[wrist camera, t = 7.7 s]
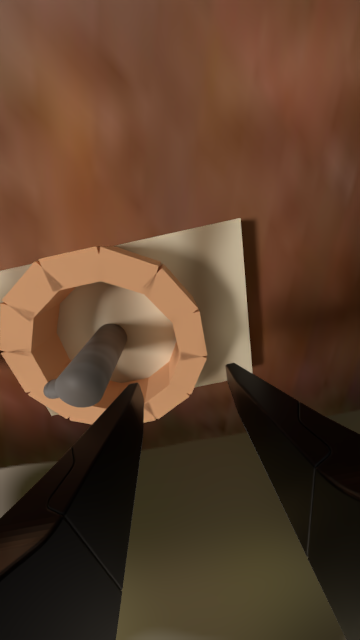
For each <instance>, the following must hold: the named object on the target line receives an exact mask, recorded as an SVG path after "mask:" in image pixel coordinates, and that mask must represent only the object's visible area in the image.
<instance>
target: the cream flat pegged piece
mask: <svg viewBox="0 0 360 640" xmlns="http://www.w3.org/2000/svg"><path fill="white" fill-rule="evenodd" d="M116 247H119V248H122V249H124V250H127V251H130V252H133V253H136V254H139V255H142V256H145V257H148V258H151V259H154V260H157V261H160V262H161V263H160V266H161V265H163V264H164V265H165V266H166V267H167V268H168V269H169V270H170V271H171V273H172V274H173V275H174V276H175V277H176V278H177V279H178V280H179V282H180V283H181V284H182V285H183V286H184V287H185V288H186V289H187V291H188V292H189V293H190V294H191V295H192V296H193V298H194V300H195V302H196V305H197V307H198V309H199V311H200V316H201V322H202V328H203V333H204V339H205V345H206V350H207V356H206V357H207V359H206V362H205V364H204V366H203V369H202V371H201V373H200V375H199V378H198V380H197V382H196V384H195V387H198V386H203V385H208V384H213V383H218V382H223V381H227V375H226V367H225V366H226V364H230V363H236V364H237V365H239V366H241V367H242V368H244V369H246V370H247V371H249V372H251V373H252V361H251V348H250V335H249V322H248V309H247V296H246V283H245V270H244V257H243V244H242V231H241V218H238V219H234V220H229V221H225V222H220V223H216V224H211V225H207V226H202V227H197V228H193V229H188V230H184V231H179V232H175V233H170V234H166V235H161V236H157V237H152V238H148V239H143V240H139V241H134V242H129V243H125V244H120V245H116ZM31 265H32V264H30V265H25V266H21V267H16V268H12V269H7V270H3V271H0V303H3V301H2V299H3V298H4V297H5V296H6V294H7V293H8V292H9V291H10V290H11V289H12V287H13V286H14V285H15V284H16V283H17V282H18V280H19V279H20V278H21V277H22V276H23V274H24V273H25V272H26V271H27V270H28V269H29V267H30V266H31ZM160 266H159V267H160ZM57 334H58V336H59V339H60V341H61V343H62V345H63V347H64V349H65V351H66V353H67V355H68V357H69V359H70V360H72V361H71V362H70V363H69V365H68V366H67V367H66V368H65V369H64V371H63V372H62V373H61V374H60V375H59V376H58V378H57V379H54V380H51V381H49V382H48V383H47V384H46V385H45V386H44V390H43V392H44V395H45V396H46V397H47V398H49V399H56V398H60V399H61V400H62V401H64V402H65V403H67V404H69V405H71V406H74V407H81V408H84V407H90V406H93V405H95V404H97V403H98V402H99V401H100V400H101V399H102V397H103V394H104V392H105V390H106V388H107V385H108V383H109V381H114V382H119V383H125V382H130V381H135V380H140V379H145V378H149V377H150V376H151V375H153V374H154V373H155V372H156V371H158V370H159V369H160V368H161V367H163V366H164V365H165V364H166V363H168V362H169V361H170V358H171V355H172V352H173V350H174V347H175V344H176V336H175V332H174V328H173V324H172V322H171V321H170V320H169V319H168V318H167V317H166V316H165V315H164V314H163V313H162V312H161V311H160V310H159V309H158V308H157V307H156V306H155V305H154V304H153V303H152V302H151V301H150V300H149V299H148V298H147V297H146V296H145V295H144V294H141V293H138V292H135V291H132V290H128V289H125V288H122V287H119V286H115V285H112V284H109V283H105V282H102V281H100V282H95V283H91V284H86V285H81V286H77V287H76V288H75V289H74V290H73V291H72V292H71V293H70V294H69V295H68V296H67V297H66V298H65V299H64V300H63V301H62V302H61V303H60V309H59V317H58V325H57ZM46 407H47V406H46ZM47 409H48V410H49V412H50V414H51V415H52V416H53V415H58V413H56V412H55V411H53V410H51V409H50V408H48V407H47Z"/></svg>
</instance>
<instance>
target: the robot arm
mask: <svg viewBox="0 0 360 640" xmlns="http://www.w3.org/2000/svg"><path fill="white" fill-rule="evenodd" d="M225 367H226V375H227V381H228V384H229V387H230V390H231V393H232V396H233V399H234V402H235V405H236V408H237V411H238V413H239V416H240V418H241V420H242V422H243V424H244V426H245V428H246V431H247V433H248V434H249V436H250V439H251V441H252V443H253V445H254V447H255V449H256V451H257V454H258V456H259V457H260V460H261V462H262V464H263V466H264V468H265V470H266V472H267V474H268V476H269V479H270V481H271V483H272V485H273V487H274V488H275V491H276V493H277V495H278V497H279V499H280V501H281V503H282V506H283V508H284V510H285V512H286V514H287V516H288V518H289V520H290V522H291V524H292V527H293V529H294V531H295V533H296V535H297V537H298V539H299V541H300V543H301V545H302V547H303V549H304V551H305V554H306V556H307V557H308V560H309V562H310V564H311V566H312V569H313V571H314V573H315V575H316V577H317V579H318V581H319V583H320V585H321V587H322V589H323V592H324V593H325V595H326V598H327V600H328V602H329V604H330V606H331V608H332V610H333V612H334V614H335V616H336V618H337V621H338V623H339V625H340V627H341V629H342V631H343V633H344V635H345V637H346V639H347V640H360V434H358V433H356V432H354V431H352V430H350V429H348V428H346V427H344V426H342V425H340V424H338V423H336V422H335V421H333V420H331V419H329V418H327V417H325V416H323V415H322V414H320V413H318V412H316V411H315V410H313V409H311V408H309V407H308V406H306V405H304V404H303V403H301V402H299V401H297V400H296V399H294V398H292V397H291V396H289V395H287V394H286V393H284V392H282V391H281V390H279V389H277V388H276V387H274V386H272V385H271V384H269V383H267V382H266V381H264V380H262V379H261V378H259V377H257V376H256V375H254V374H252V373H251V372H249V371H247V370H246V369H244V368H242V367H241V366H239V365H237V364H236V363H230V364H226V366H225ZM143 421H144V397H143V394H142V391H141V388H140V385H139V383H132V384H129V385H128V386H127V387H126V388H125V389H124V390H123V391H122V393H121V394H120V395H119V396H118V397H117V398H116V399H115V400H114V401H113V402H112V403H111V404H110V406H109V407H108V408H107V409H106V410H105V411H104V412H103V413H102V414H101V415H100V416H99V418H98V419H97V420H96V421H95V422H94V423H93V424H92V425H91V426H90V427H89V428H88V430H87V431H86V432H85V433H84V434H83V435H82V436H81V437H80V438H79V439H78V440H77V441H76V443H75V444H74V445H73V446H72V447H71V448H70V449H69V450H68V451H67V452H66V453H65V454H64V456H63V457H62V458H61V459H60V460H59V461H58V462H57V463H56V464H55V465H54V466H53V467H52V468H51V469H50V470H49V471H48V472H47V473H46V474H45V475H44V476H43V477H42V478H41V479H40V480H39V481H38V482H37V483H36V484H35V485H34V486H33V487H32V488H31V489H30V490H29V491H28V492H27V493H26V494H25V495H24V496H23V497H22V498H21V499H20V500H19V501H18V502H17V503H16V504H15V505H14V506H13V507H12V508H11V509H10V510H9V511H7V512H6V513H5V514H4V515H3V516H2V517H1V518H0V640H116V633H117V626H118V618H119V611H120V604H121V596H122V591H121V590H122V588H123V580H124V573H125V564H126V558H127V550H128V543H129V536H130V528H131V520H132V512H133V506H134V499H135V491H136V483H137V476H138V469H139V460H140V454H141V446H142V439H143Z"/></svg>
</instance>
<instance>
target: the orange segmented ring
mask: <svg viewBox="0 0 360 640" xmlns="http://www.w3.org/2000/svg"><path fill="white" fill-rule="evenodd" d="M38 260H39V261H35V262H34V263H33V264H32V265H31V266H30V267H29V269H28V270H27V271H26V272H25V273H24V274H23V276H22V277H21V278H20V279H19V280H18V282H17V283H16V284H15V285H14V286H13V287H12V289H11V290H10V291H9V292H8V293H7V294H6V296H5V297H4V298H3V299H2V301H3V303H0V350H1V351H4V352H2V353H1V354H2V356H3V358H4V359H5V361H6V362H7V364H8V365H9V367H10V369H11V370H12V372H13V373H14V375H15V376H16V378H17V380H18V381H19V383H20V384H21V386H22V387H23V389H24V391H25V392H30V391H31V392H30V393H29V394H28V395H29V396H31V397H32V398H34V399H36V400H37V401H39V402H40V403H42V404H44V405H45V406H47V407H48V408H50V409H51V410H53V411H55V412H56V413H58V414H59V415H61V416H63V417H64V418H66V419H67V418H68V417H70V420H71V421H77V422H82V423H87V424H93V423H94V422H95V421H96V420H97V419H98V418H99V416H100V415H101V414H102V413H103V412H104V411H105V410H106V409H107V408H108V407H109V406H110V404H111V403H112V402H113V401H114V400H115V399H116V398H117V397H118V396H119V395H120V394H121V393H122V391H123V390H124V389H125V388H126V387H127V386H128V385H129V384H132V383H139V385H140V388H141V391H142V394H143V397H144V421H143V423H144V422H149V421H154V420H156V418H157V419H159V418H160V417H162V416H163V415H165V414H166V413H167V412H169V411H170V410H171V409H173V408H174V407H176V406H177V405H178V404H180V403H181V402H182V401H184V400H185V399H186V398H188V397H189V394H192V391H193V389H194V387H195V384H196V382H197V380H198V378H199V375H200V373H201V371H202V369H203V366H204V364H205V362H206V359H207V357H206V356H207V350H206V345H205V339H204V333H203V328H202V322H201V316H200V311H199V309H198V307H197V305H196V302H195V300H194V298H193V296H192V295H191V294H190V293H189V292H188V291H187V289H186V288H185V287H184V286H183V285H182V284H181V283H180V282H179V280H178V279H177V278H176V277H175V276H174V275H173V274H172V273H171V271H170V270H169V269H168V268H167V267H166V266H165V265H164V264H163V265H161V266H160V263H161V262H160V261H157V260H154V259H151V258H148V257H145V256H142V255H139V254H136V253H133V252H130V251H127V250H124V249H122V248H119V247H116V246H96V247H91V248H87V249H82V250H78V251H73V252H69V253H64V254H60V255H55V256H51V257H46V258H42V259H38ZM159 266H160V267H159ZM100 281H102V282H105V283H109V284H112V285H115V286H119V287H122V288H125V289H128V290H132V291H135V292H138V293H141V294H144V295H145V296H146V297H147V298H148V299H149V300H150V301H151V302H152V303H153V304H154V305H155V306H156V307H157V308H158V309H159V310H160V311H161V312H162V313H163V314H164V315H165V316H166V317H167V318H168V319H169V320H170V321H171V322H172V324H173V328H174V332H175V336H176V344H175V347H174V350H173V352H172V355H171V358H170V361H169V362H168V363H166V364H165V365H164V366H163V367H161V368H160V369H159V370H158V371H156V372H155V373H154V374H153V375H151V376H150V377H149V378H145V379H140V380H135V381H130V382H125V383H119V382H114V381H109V383H108V385H107V388H106V390H105V392H104V394H103V397H102V399H101V400H100V401H99V402H98V403H97V404H95V405H93V406H90V407H84V408H81V407H74V406H71V405H69V404H67V403H65V402H64V401H62V400H61V399H60V398H56V399H49V398H47V397H46V396H45V395H44V392H43V390H44V386H45V385H46V384H47V383H48V382H49V381H51V380H54V379H57V378H58V376H59V375H60V374H61V373H62V372H63V371H64V369H65V368H66V367H67V366H68V365H69V363H70V362H71V361H72V360H70V359H69V357H68V355H67V353H66V351H65V349H64V347H63V345H62V343H61V341H60V339H59V336H58V334H57V325H58V317H59V309H60V303H61V302H62V301H63V300H64V299H65V298H66V297H67V296H68V295H69V294H70V293H71V292H72V291H73V290H74V289H75V288H76V287H77V286H81V285H86V284H91V283H95V282H100Z"/></svg>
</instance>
